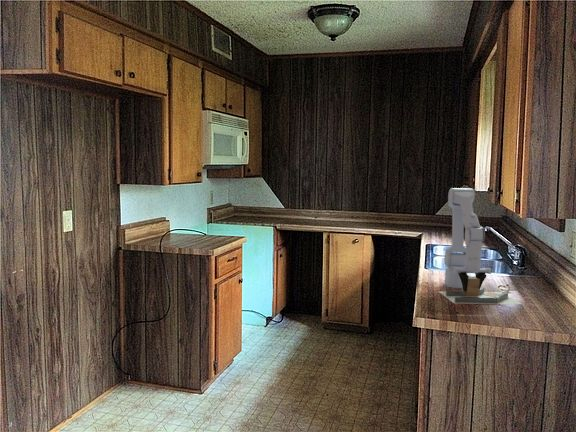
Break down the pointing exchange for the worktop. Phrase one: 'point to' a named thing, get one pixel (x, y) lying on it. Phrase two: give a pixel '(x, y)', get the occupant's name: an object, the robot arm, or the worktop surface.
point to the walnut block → (472, 286)
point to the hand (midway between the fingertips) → (471, 290)
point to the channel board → (485, 294)
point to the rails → (476, 299)
